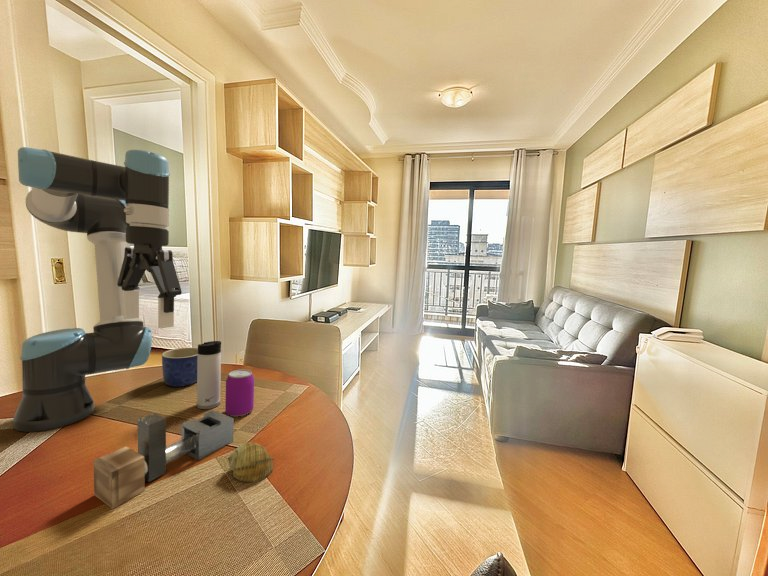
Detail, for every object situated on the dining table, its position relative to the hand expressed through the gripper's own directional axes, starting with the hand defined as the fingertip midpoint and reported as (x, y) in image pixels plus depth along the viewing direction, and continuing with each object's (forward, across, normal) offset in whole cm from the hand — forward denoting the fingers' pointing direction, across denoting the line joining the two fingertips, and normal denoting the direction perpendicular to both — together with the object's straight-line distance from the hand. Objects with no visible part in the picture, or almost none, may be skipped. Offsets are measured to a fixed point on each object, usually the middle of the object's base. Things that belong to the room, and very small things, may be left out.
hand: (148, 322), depth 71 cm
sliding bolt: (+30, +9, -3) cm, 32 cm away
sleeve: (+31, +9, +8) cm, 33 cm away
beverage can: (+31, +1, +24) cm, 39 cm away
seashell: (+31, +25, +8) cm, 40 cm away
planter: (+31, -33, +28) cm, 53 cm away
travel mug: (+31, -10, +22) cm, 39 cm away
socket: (+30, +9, -10) cm, 33 cm away
